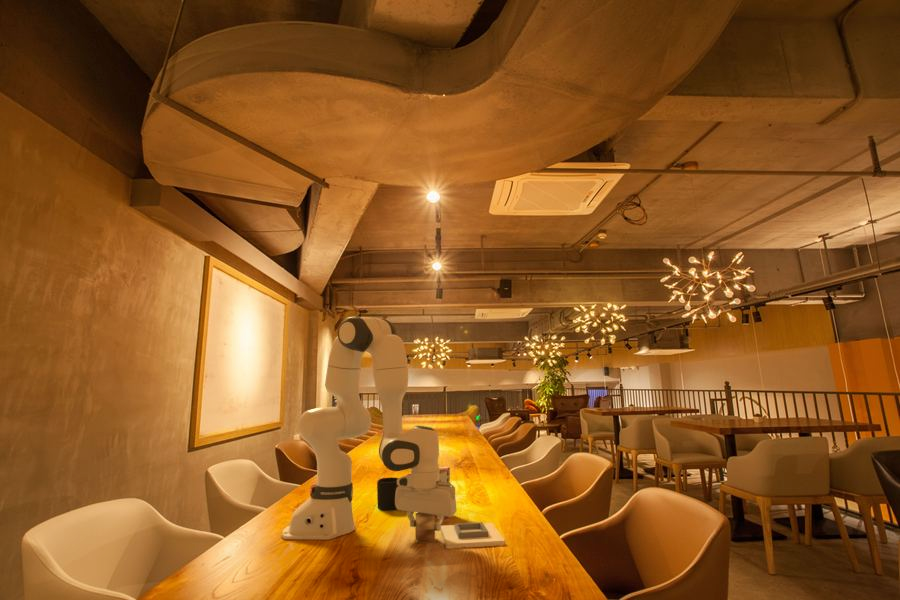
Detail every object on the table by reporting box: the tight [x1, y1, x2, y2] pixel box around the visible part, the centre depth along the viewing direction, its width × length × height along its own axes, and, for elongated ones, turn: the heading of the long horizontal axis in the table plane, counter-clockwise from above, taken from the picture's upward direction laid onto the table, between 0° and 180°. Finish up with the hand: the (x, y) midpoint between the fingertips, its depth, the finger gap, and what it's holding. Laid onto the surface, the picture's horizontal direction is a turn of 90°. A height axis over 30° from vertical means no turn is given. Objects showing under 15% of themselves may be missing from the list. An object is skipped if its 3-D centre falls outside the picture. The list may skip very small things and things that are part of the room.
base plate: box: [440, 521, 506, 549], centre depth 135 cm, size 17×17×3 cm
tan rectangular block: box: [414, 512, 436, 544], centre depth 133 cm, size 5×5×7 cm
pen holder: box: [376, 476, 399, 511], centre depth 169 cm, size 9×9×10 cm
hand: (425, 528), depth 133 cm, fingers closed on tan rectangular block, 7 cm apart
